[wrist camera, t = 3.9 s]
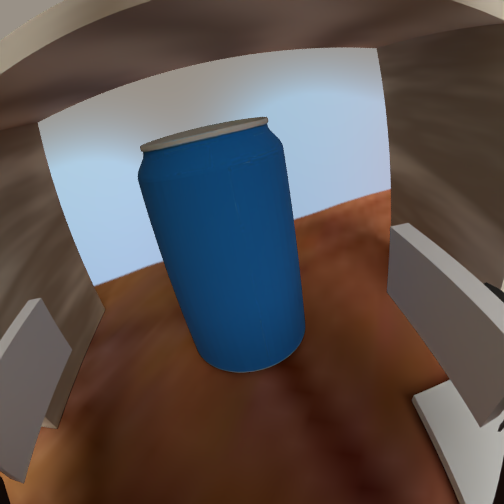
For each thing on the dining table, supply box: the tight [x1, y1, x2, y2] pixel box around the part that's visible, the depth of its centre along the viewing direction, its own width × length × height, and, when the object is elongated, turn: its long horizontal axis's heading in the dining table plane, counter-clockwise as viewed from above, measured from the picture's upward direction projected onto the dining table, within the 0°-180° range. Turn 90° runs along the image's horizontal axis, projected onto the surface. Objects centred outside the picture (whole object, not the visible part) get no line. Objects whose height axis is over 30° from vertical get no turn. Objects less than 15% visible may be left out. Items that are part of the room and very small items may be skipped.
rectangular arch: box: [0, 0, 504, 429], centre depth 14 cm, size 27×12×17 cm, turn 96°
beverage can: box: [138, 117, 305, 372], centre depth 15 cm, size 6×6×12 cm
